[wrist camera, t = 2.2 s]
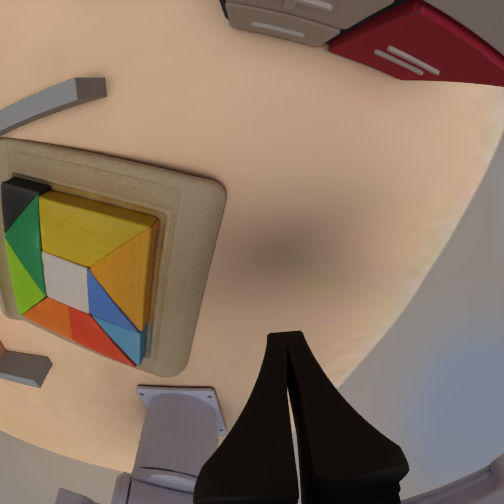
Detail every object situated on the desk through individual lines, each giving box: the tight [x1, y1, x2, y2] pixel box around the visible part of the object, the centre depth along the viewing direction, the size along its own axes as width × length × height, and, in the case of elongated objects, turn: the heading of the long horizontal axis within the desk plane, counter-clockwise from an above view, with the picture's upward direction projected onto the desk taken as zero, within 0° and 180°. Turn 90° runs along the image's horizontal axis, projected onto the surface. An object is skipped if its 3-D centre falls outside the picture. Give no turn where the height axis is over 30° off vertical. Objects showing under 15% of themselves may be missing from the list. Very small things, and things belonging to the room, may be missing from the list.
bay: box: [0, 78, 106, 388], centre depth 19 cm, size 24×24×4 cm
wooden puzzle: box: [0, 138, 226, 377], centre depth 20 cm, size 18×19×4 cm
